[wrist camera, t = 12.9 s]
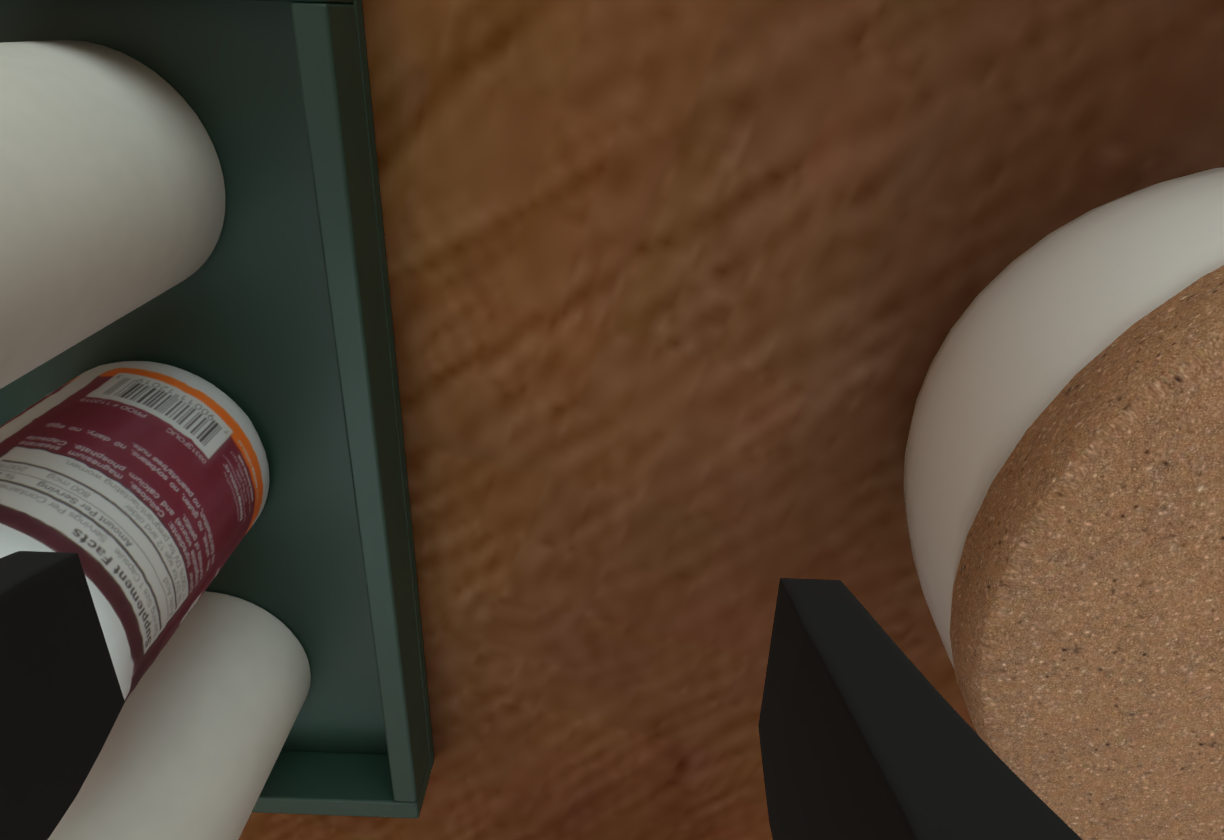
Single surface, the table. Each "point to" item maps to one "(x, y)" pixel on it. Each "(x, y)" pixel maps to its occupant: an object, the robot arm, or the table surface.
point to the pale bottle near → (94, 194)
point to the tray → (289, 365)
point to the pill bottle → (133, 494)
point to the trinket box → (1088, 513)
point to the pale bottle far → (196, 731)
